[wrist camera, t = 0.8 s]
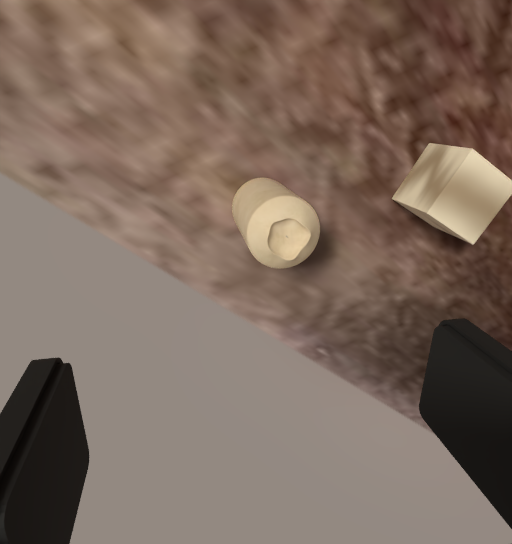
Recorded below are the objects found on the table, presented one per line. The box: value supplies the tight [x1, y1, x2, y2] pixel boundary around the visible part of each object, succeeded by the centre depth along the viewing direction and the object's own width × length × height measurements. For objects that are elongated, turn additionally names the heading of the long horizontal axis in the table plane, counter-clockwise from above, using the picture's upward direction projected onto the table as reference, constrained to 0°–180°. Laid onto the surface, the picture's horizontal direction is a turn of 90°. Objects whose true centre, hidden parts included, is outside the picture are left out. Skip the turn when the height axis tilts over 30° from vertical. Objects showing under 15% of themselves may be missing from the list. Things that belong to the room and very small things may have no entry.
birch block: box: [392, 143, 512, 244], centre depth 36 cm, size 6×6×6 cm
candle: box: [232, 178, 320, 269], centre depth 32 cm, size 6×6×10 cm
